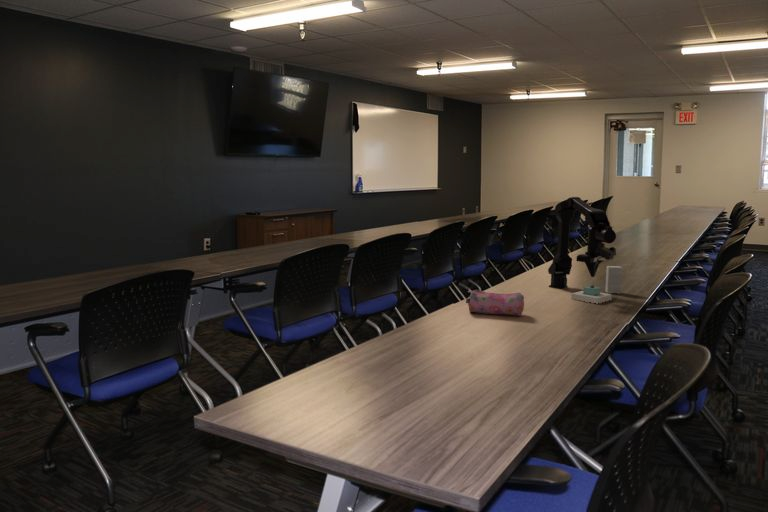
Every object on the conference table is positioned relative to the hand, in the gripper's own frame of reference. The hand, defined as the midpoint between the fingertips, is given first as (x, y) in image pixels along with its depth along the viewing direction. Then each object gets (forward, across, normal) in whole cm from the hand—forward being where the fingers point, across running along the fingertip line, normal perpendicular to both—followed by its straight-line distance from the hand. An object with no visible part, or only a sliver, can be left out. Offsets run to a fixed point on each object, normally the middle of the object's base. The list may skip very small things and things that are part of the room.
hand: (592, 276), depth 258 cm
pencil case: (+10, -52, +11) cm, 54 cm away
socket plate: (+10, 0, 0) cm, 10 cm away
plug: (+10, 0, 0) cm, 10 cm away
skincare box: (+10, +21, +1) cm, 23 cm away
